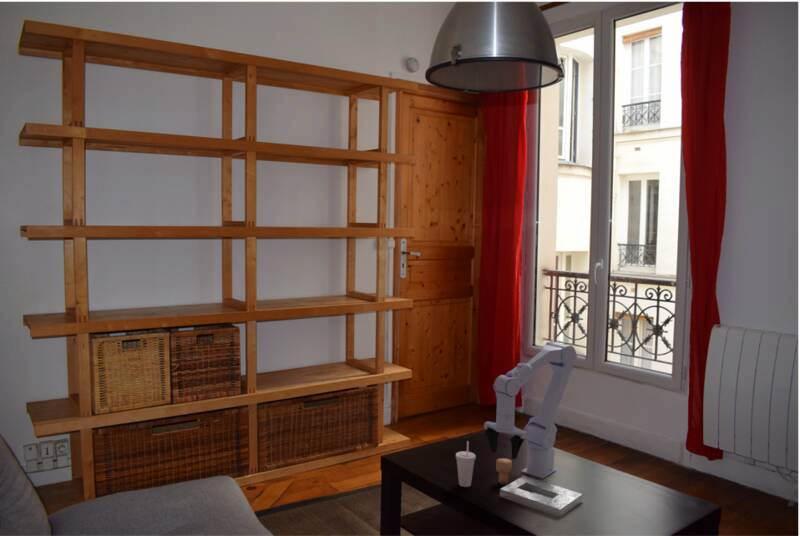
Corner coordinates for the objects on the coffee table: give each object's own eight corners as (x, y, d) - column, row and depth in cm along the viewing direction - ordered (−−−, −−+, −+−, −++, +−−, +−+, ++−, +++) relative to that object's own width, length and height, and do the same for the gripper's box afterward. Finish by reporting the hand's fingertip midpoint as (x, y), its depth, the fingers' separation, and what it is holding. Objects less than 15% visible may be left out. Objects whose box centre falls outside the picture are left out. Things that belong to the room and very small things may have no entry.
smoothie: (474, 489, 199) (475, 445, 198) (453, 487, 200) (454, 443, 199) (475, 481, 205) (477, 438, 204) (455, 479, 206) (457, 437, 205)
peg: (501, 478, 208) (501, 457, 208) (513, 482, 205) (514, 461, 205) (492, 482, 205) (493, 461, 204) (505, 486, 202) (506, 465, 201)
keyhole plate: (523, 482, 205) (523, 475, 204) (582, 501, 192) (582, 494, 191) (499, 496, 194) (500, 488, 194) (560, 517, 181) (560, 509, 181)
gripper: (479, 411, 205) (478, 452, 206) (518, 421, 196) (517, 464, 196) (491, 406, 210) (490, 447, 211) (530, 416, 201) (529, 458, 202)
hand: (504, 455), depth 204 cm, fingers open, 7 cm apart
